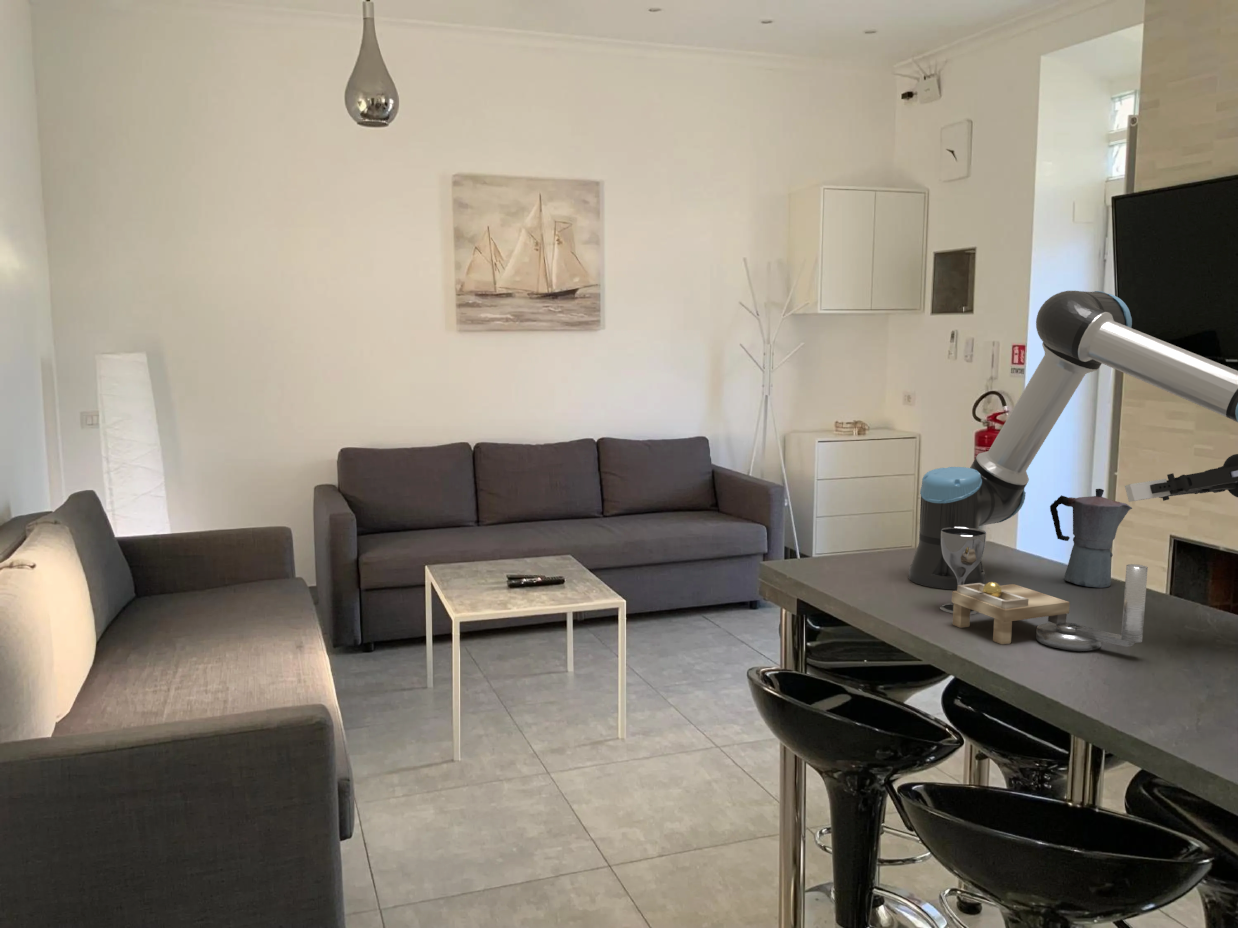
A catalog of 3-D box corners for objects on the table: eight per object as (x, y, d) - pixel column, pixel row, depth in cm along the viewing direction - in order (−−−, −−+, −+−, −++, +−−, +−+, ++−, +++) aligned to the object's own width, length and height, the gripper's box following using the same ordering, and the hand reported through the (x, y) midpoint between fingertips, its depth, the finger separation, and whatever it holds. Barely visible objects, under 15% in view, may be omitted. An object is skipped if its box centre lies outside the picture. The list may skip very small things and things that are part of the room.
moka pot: (1132, 590, 200) (1140, 493, 197) (1051, 586, 203) (1057, 490, 200) (1119, 579, 209) (1125, 486, 206) (1041, 575, 212) (1047, 483, 209)
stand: (950, 623, 177) (952, 584, 176) (1011, 615, 182) (1014, 577, 181) (1003, 645, 165) (1006, 602, 164) (1067, 635, 170) (1070, 594, 169)
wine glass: (944, 601, 192) (948, 525, 190) (987, 607, 187) (991, 530, 185) (931, 610, 185) (935, 532, 183) (975, 617, 181) (979, 537, 179)
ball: (978, 597, 172) (979, 580, 172) (992, 595, 173) (993, 579, 173) (991, 601, 169) (992, 584, 169) (1004, 600, 170) (1005, 583, 170)
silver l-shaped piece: (1025, 640, 167) (1030, 555, 165) (1052, 628, 173) (1057, 546, 171) (1127, 664, 154) (1134, 573, 153) (1152, 651, 161) (1159, 563, 159)
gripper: (1294, 487, 158) (1160, 508, 155) (1236, 502, 171) (1111, 521, 168) (1280, 442, 160) (1148, 462, 157) (1224, 460, 173) (1100, 478, 169)
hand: (1129, 493), depth 162 cm, fingers closed
